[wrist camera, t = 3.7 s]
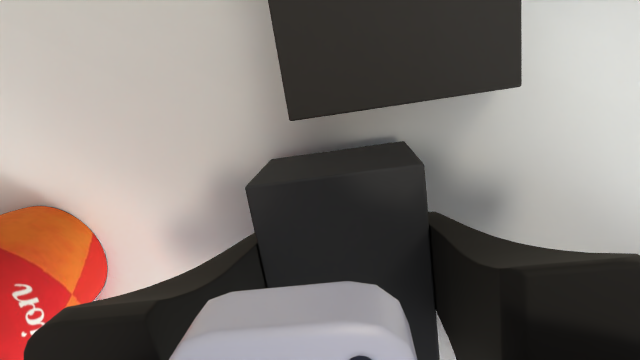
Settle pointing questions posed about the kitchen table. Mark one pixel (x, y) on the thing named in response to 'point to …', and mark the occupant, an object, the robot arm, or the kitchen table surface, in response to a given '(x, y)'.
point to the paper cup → (43, 271)
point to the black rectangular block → (350, 227)
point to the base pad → (392, 51)
